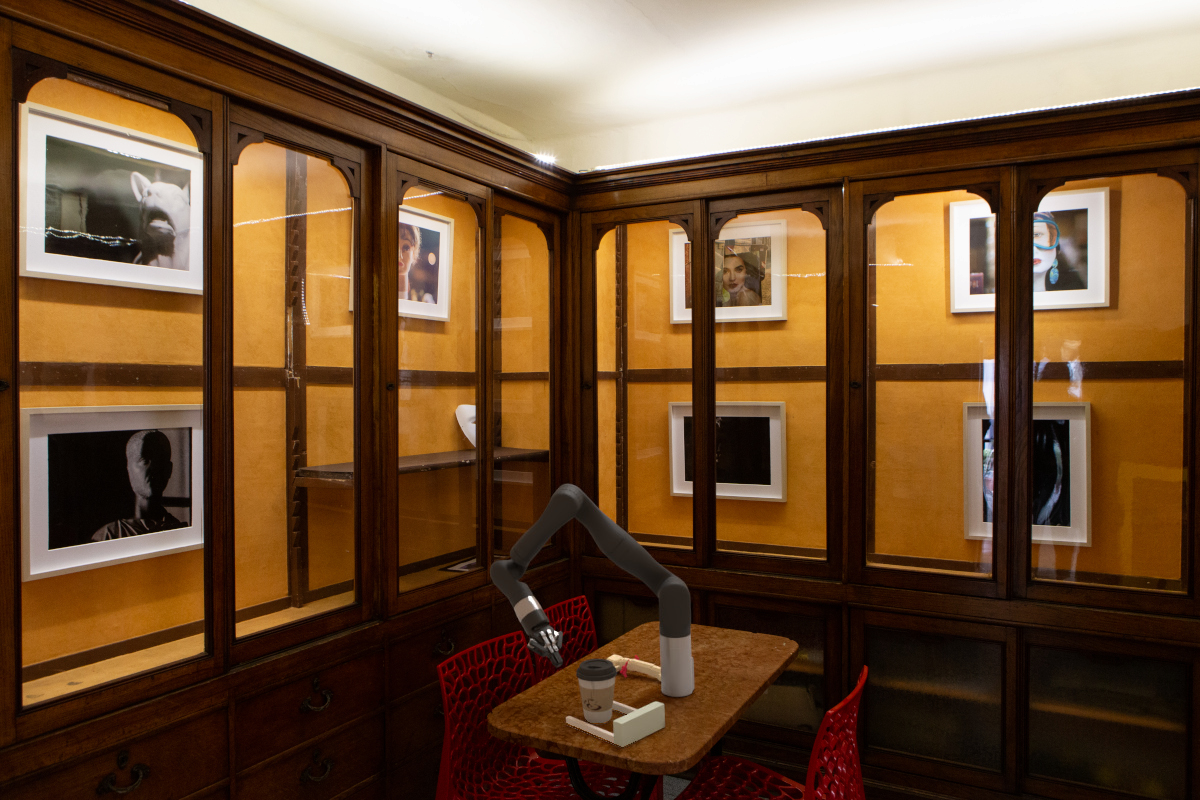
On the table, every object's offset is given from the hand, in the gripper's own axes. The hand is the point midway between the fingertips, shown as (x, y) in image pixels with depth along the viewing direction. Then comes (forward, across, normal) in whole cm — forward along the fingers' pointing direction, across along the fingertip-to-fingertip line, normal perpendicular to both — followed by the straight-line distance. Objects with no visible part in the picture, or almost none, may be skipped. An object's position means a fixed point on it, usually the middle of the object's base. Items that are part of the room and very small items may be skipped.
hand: (559, 665), depth 218 cm
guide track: (+23, 0, -8) cm, 25 cm away
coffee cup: (+19, 0, -3) cm, 19 cm away
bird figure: (+9, +31, +7) cm, 33 cm away
